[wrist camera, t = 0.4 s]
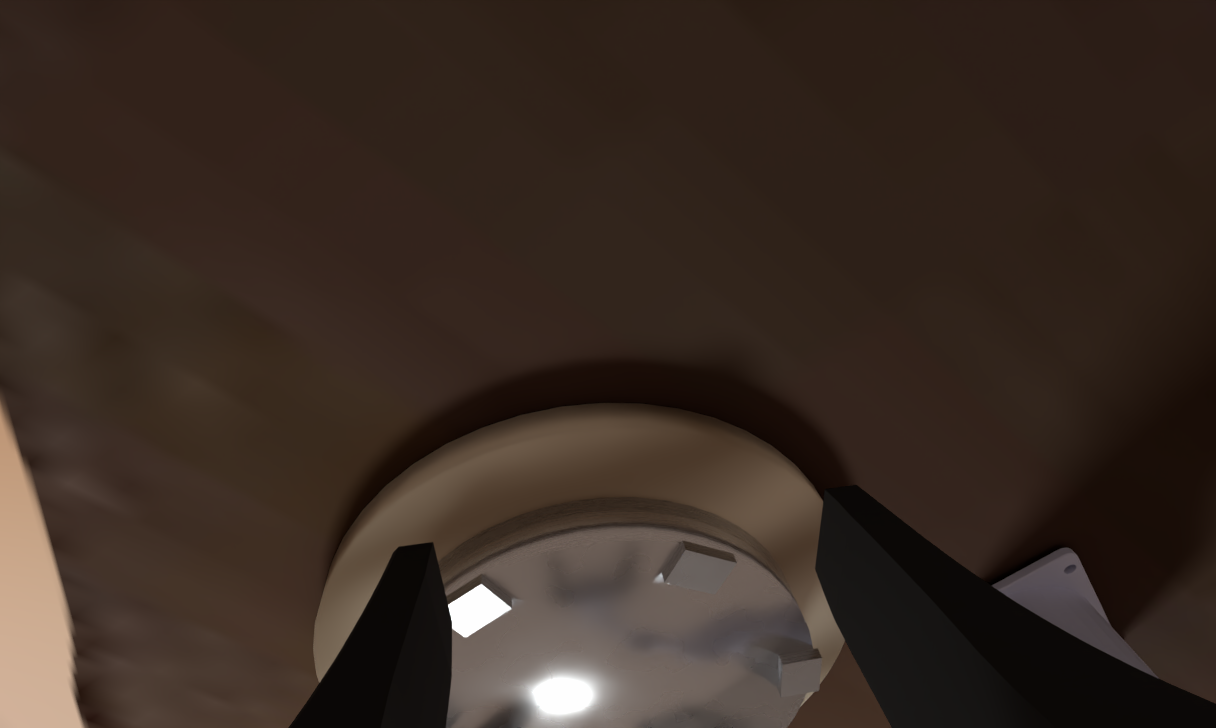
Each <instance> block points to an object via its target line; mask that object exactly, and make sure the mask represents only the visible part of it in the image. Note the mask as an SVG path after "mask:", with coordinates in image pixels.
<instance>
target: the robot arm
mask: <svg viewBox="0 0 1216 728" xmlns="http://www.w3.org/2000/svg"><path fill="white" fill-rule="evenodd" d="M815 571H816V573H817V576H818V579H819V581H820V584H821V587H822V589H823V592H824V595H825V598H826V600H827V603H828V605H829V608H830V610H831V613H832V615H833V618H834V620H835V622H836V624H837V626H838V628H839V630H840V632H841V633H842V635H843V637H844V639H845V641H846V643H847V645H848V647H849V649H850V650H851V652H852V654H853V656H854V658H855V660H856V662H857V664H858V665H859V667H860V669H861V671H862V673H863V675H864V677H865V678H866V680H867V682H868V684H869V686H870V688H871V690H872V691H873V693H874V695H875V697H876V699H877V701H878V703H879V704H880V706H881V708H882V710H883V712H884V714H885V716H886V718H887V719H888V721H889V723H890V725H891V727H892V728H1216V704H1215V703H1213V702H1210V701H1208V700H1206V699H1203V698H1201V697H1199V696H1197V695H1194V694H1192V693H1190V692H1187V691H1185V690H1183V689H1180V688H1178V687H1176V686H1173V685H1171V684H1169V683H1167V682H1165V681H1163V680H1160V679H1159V678H1158V677H1157V676H1156V675H1155V674H1154V673H1153V671H1152V670H1151V669H1150V668H1149V667H1148V666H1147V665H1146V664H1145V663H1144V662H1143V661H1142V659H1141V658H1140V657H1139V656H1138V655H1137V654H1136V653H1135V652H1134V651H1133V650H1132V648H1131V647H1130V646H1129V645H1128V644H1127V643H1126V642H1125V641H1124V640H1123V639H1122V638H1121V636H1120V635H1119V634H1118V633H1117V632H1116V631H1115V630H1114V629H1113V628H1112V627H1111V625H1110V623H1109V621H1108V618H1107V616H1106V614H1105V612H1104V610H1103V608H1102V606H1101V604H1100V602H1099V600H1098V597H1097V595H1096V593H1095V591H1094V589H1093V587H1092V585H1091V583H1090V581H1089V579H1088V576H1087V574H1086V572H1085V570H1084V568H1083V566H1082V564H1081V562H1080V560H1079V558H1078V556H1077V555H1076V554H1075V552H1074V551H1073V550H1072V549H1071V548H1061V549H1058V550H1056V551H1054V552H1052V553H1051V554H1049V555H1047V556H1045V557H1043V558H1041V559H1039V560H1038V561H1036V562H1034V563H1032V564H1030V565H1028V566H1027V567H1025V568H1023V569H1021V570H1019V571H1017V572H1016V573H1014V574H1012V575H1010V576H1008V577H1006V578H1005V579H1003V580H1001V581H999V582H997V583H995V584H993V585H992V586H991V585H990V584H988V583H987V582H985V581H984V580H982V579H981V578H979V577H978V576H976V575H975V574H973V573H972V572H970V571H969V570H968V569H966V568H965V567H963V566H962V565H960V564H959V563H958V562H956V561H955V560H954V559H952V558H951V557H949V556H948V555H947V554H945V553H944V552H943V551H941V550H940V549H939V548H937V547H936V546H935V545H933V544H932V543H931V542H929V541H928V540H927V539H925V538H924V537H923V536H921V535H920V534H919V533H917V532H916V531H915V530H914V529H912V528H911V527H910V526H908V525H907V524H906V523H905V522H903V521H902V520H901V519H899V518H898V517H897V516H896V515H894V514H893V513H892V512H891V511H889V510H888V509H887V508H885V507H884V506H883V505H882V504H880V503H879V502H878V501H877V500H875V499H874V498H873V497H871V496H870V495H869V494H868V493H866V492H865V491H864V490H862V489H861V488H860V487H858V486H857V485H853V486H845V487H838V488H830V489H825V492H824V500H823V508H822V516H821V524H820V532H819V540H818V548H817V556H816V564H815ZM451 679H452V619H451V614H450V610H449V606H448V602H447V598H446V594H445V589H444V585H443V581H442V577H441V573H440V568H439V564H438V560H437V556H436V552H435V548H434V543H433V542H429V543H422V544H414V545H407V546H399V547H398V548H397V549H396V550H395V551H394V552H393V554H392V556H391V558H390V560H389V562H388V564H387V566H386V569H385V571H384V573H383V575H382V577H381V579H380V581H379V583H378V585H377V586H376V588H375V590H374V592H373V594H372V596H371V598H370V600H369V601H368V603H367V605H366V607H365V609H364V611H363V613H362V614H361V616H360V618H359V620H358V621H357V623H356V625H355V626H354V628H353V630H352V632H351V633H350V635H349V637H348V638H347V640H346V642H345V644H344V645H343V647H342V649H341V650H340V652H339V654H338V655H337V657H336V658H335V660H334V662H333V663H332V665H331V666H330V668H329V669H328V671H327V672H326V674H325V675H324V677H323V678H322V680H321V681H320V683H319V685H318V686H317V688H316V689H315V691H314V692H313V694H312V695H311V697H310V698H309V700H308V701H307V703H306V704H305V705H304V707H303V708H302V710H301V711H300V712H299V714H298V715H297V717H296V718H295V720H294V721H293V722H292V724H291V725H290V726H289V728H446V722H447V713H448V705H449V697H450V688H451Z"/></svg>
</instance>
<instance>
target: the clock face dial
mask: <svg viewBox="0 0 1216 728" xmlns="http://www.w3.org/2000/svg"><path fill="white" fill-rule="evenodd" d="M438 564H439V568H440V573H441V577H442V581H443V585H444V589H445V594H446V598H447V602H448V606H449V610H450V614H451V619H452V679H451V688H450V697H449V705H448V713H447V722H446V728H787V727H788V725H789V724H790V723H791V721H792V720H793V719H794V717H795V715H796V713H797V712H798V710H799V708H800V706H801V704H802V703H803V701H804V698H805V695H806V693H809V692H815V691H819V685H820V675H821V664H822V656H821V654H820V652H819V650H818V648H816V649H813V645H812V640H811V636H810V631H809V628H808V626H807V624H806V622H805V619H804V617H803V615H802V613H801V610H800V608H799V606H798V604H797V602H796V600H795V598H794V595H793V593H792V591H791V589H790V587H789V585H788V582H787V580H786V578H785V576H784V574H783V572H782V570H781V568H780V566H779V565H778V564H777V562H776V561H775V559H774V558H773V556H772V555H771V554H770V552H769V551H768V550H767V549H766V548H765V547H764V546H763V545H762V544H761V543H760V542H759V541H758V540H757V539H755V538H754V537H753V536H751V535H750V534H749V533H747V532H746V531H744V530H743V529H741V528H740V527H739V526H737V525H735V524H733V523H731V522H729V521H727V520H726V519H724V518H722V517H720V516H718V515H716V514H713V513H710V512H707V511H704V510H701V509H698V508H696V507H693V506H689V505H684V504H680V503H675V502H671V501H666V500H658V499H648V498H638V497H605V498H595V499H586V500H577V501H571V502H567V503H562V504H557V505H552V506H548V507H543V508H540V509H537V510H534V511H531V512H528V513H525V514H522V515H518V516H515V517H513V518H511V519H509V520H506V521H504V522H502V523H499V524H497V525H495V526H493V527H490V528H488V529H486V530H484V531H483V532H481V533H479V534H478V535H476V536H474V537H472V538H471V539H469V540H467V541H465V542H464V543H462V544H461V545H459V546H458V547H457V548H455V549H454V550H453V551H451V552H450V553H449V554H447V555H446V556H445V557H443V558H442V559H441V560H440V561H439V562H438Z"/></svg>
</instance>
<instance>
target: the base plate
mask: <svg viewBox="0 0 1216 728" xmlns="http://www.w3.org/2000/svg"><path fill="white" fill-rule="evenodd" d="M605 497H638V498H648V499H658V500H666V501H671V502H675V503H680V504H684V505H689V506H693V507H696V508H698V509H701V510H704V511H707V512H710V513H713V514H716V515H718V516H720V517H722V518H724V519H726V520H727V521H729V522H731V523H733V524H735V525H737V526H739V527H740V528H741V529H743V530H744V531H746V532H747V533H749V534H750V535H751V536H753V537H754V538H755V539H757V540H758V541H759V542H760V543H761V544H762V545H763V546H764V547H765V548H766V549H767V550H768V551H769V552H770V554H771V555H772V556H773V558H774V559H775V561H776V562H777V564H778V565H779V566H780V568H781V570H782V572H783V574H784V576H785V578H786V580H787V582H788V585H789V587H790V589H791V591H792V593H793V595H794V598H795V600H796V602H797V604H798V606H799V608H800V610H801V613H802V615H803V617H804V619H805V622H806V624H807V626H808V628H809V631H810V636H811V640H812V645H813V649H816V648H818V650H819V652H820V654H821V656H822V664H821V675H820V683H821V682H822V680H823V679H824V678H825V676H826V675H827V674H828V672H829V671H830V669H831V667H832V665H833V664H834V662H835V660H836V658H837V657H838V655H839V653H840V651H841V649H842V646H843V644H844V641H845V639H844V637H843V635H842V633H841V632H840V630H839V628H838V626H837V624H836V622H835V620H834V618H833V615H832V613H831V610H830V608H829V605H828V603H827V600H826V598H825V595H824V592H823V589H822V587H821V584H820V581H819V579H818V576H817V573H816V571H815V564H816V556H817V548H818V540H819V532H820V524H821V516H822V508H823V500H822V499H821V497H820V495H819V494H818V492H817V490H816V489H815V487H814V485H813V484H812V483H811V482H810V481H809V480H808V478H807V477H806V476H805V475H804V474H803V473H802V472H801V470H800V469H799V468H798V467H797V466H796V465H795V464H794V463H793V462H792V461H790V460H789V459H788V458H787V457H785V456H784V455H783V454H782V453H780V452H779V451H778V450H777V449H776V448H774V447H773V446H772V445H770V444H768V443H766V442H765V441H763V440H761V439H760V438H758V437H756V436H754V435H753V434H751V433H749V432H747V431H746V430H743V429H741V428H739V427H736V426H734V425H731V424H729V423H726V422H724V421H721V420H719V419H716V418H714V417H710V416H706V415H702V414H698V413H695V412H691V411H687V410H683V409H679V408H672V407H664V406H657V405H649V404H642V403H594V404H583V405H573V406H562V407H557V408H552V409H547V410H542V411H537V412H532V413H528V414H523V415H519V416H516V417H513V418H510V419H507V420H504V421H500V422H497V423H494V424H491V425H488V426H485V427H482V428H480V429H478V430H475V431H473V432H471V433H469V434H467V435H464V436H462V437H460V438H458V439H456V440H453V441H451V442H449V443H447V444H445V445H443V446H442V447H440V448H438V449H437V450H435V451H433V452H432V453H430V454H429V455H427V456H425V457H424V458H422V459H420V460H419V461H417V462H415V463H414V464H412V465H411V466H410V467H409V468H407V469H406V470H405V471H404V472H402V473H401V474H400V475H399V476H397V477H396V478H395V479H394V480H392V481H391V482H390V483H389V484H387V485H386V486H385V487H384V488H383V489H382V490H381V491H380V492H379V493H378V494H377V495H376V496H375V497H374V498H373V500H372V501H371V502H370V503H369V504H368V505H367V506H366V507H365V508H364V509H363V510H362V511H361V513H360V514H359V516H358V517H357V518H356V520H355V521H354V523H353V524H352V526H351V527H350V528H349V530H348V531H347V533H346V534H345V536H344V537H343V539H342V541H341V543H340V546H339V548H338V550H337V552H336V554H335V556H334V558H333V560H332V562H331V566H330V569H329V573H328V577H327V580H326V584H325V588H324V591H323V595H322V599H321V603H320V606H319V610H318V614H317V618H316V621H315V630H314V645H313V652H314V659H315V667H316V674H317V677H318V680H319V683H320V681H321V680H322V678H323V677H324V675H325V674H326V672H327V671H328V669H329V668H330V666H331V665H332V663H333V662H334V660H335V658H336V657H337V655H338V654H339V652H340V650H341V649H342V647H343V645H344V644H345V642H346V640H347V638H348V637H349V635H350V633H351V632H352V630H353V628H354V626H355V625H356V623H357V621H358V620H359V618H360V616H361V614H362V613H363V611H364V609H365V607H366V605H367V603H368V601H369V600H370V598H371V596H372V594H373V592H374V590H375V588H376V586H377V585H378V583H379V581H380V579H381V577H382V575H383V573H384V571H385V569H386V566H387V564H388V562H389V560H390V558H391V556H392V554H393V552H394V551H395V550H396V549H397V548H398V547H399V546H407V545H414V544H422V543H429V542H433V543H434V548H435V552H436V556H437V560H438V562H439V561H440V560H441V559H442V558H443V557H445V556H446V555H447V554H449V553H450V552H451V551H453V550H454V549H455V548H457V547H458V546H459V545H461V544H462V543H464V542H465V541H467V540H469V539H471V538H472V537H474V536H476V535H478V534H479V533H481V532H483V531H484V530H486V529H488V528H490V527H493V526H495V525H497V524H499V523H502V522H504V521H506V520H509V519H511V518H513V517H515V516H518V515H522V514H525V513H528V512H531V511H534V510H537V509H540V508H543V507H548V506H552V505H557V504H562V503H567V502H571V501H577V500H586V499H595V498H605ZM813 693H814V692H809V693H806V695H805V698H804V701H803V703H804V702H805V701H806V700H807V699H808V698H809V697H810V696H811V695H812V694H813ZM803 703H802V704H803ZM802 704H801V705H802Z"/></svg>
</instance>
